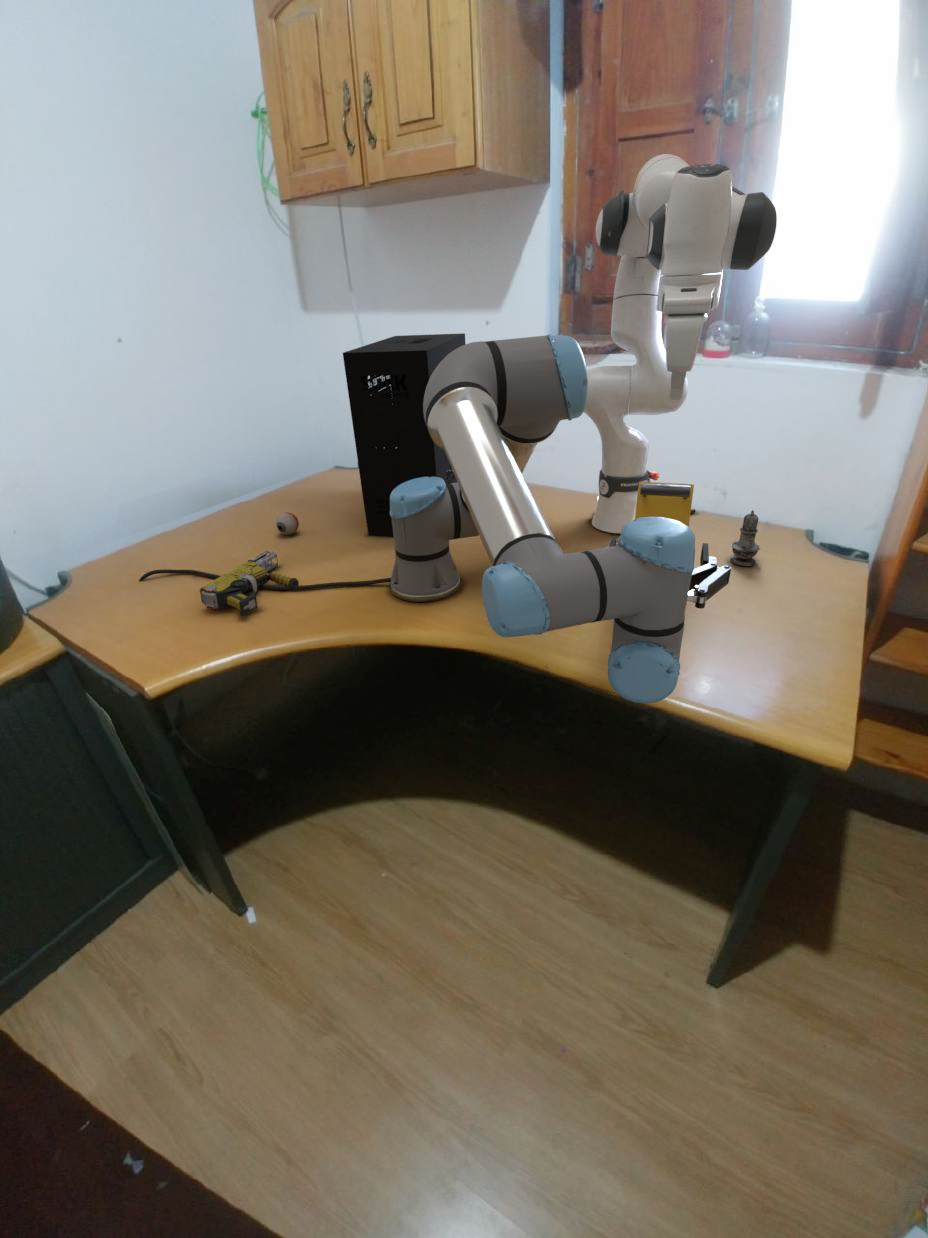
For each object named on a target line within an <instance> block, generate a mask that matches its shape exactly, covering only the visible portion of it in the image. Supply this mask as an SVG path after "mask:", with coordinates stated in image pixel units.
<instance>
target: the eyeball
mask: <svg viewBox="0 0 928 1238" xmlns="http://www.w3.org/2000/svg"><path fill="white" fill-rule="evenodd" d="M299 525H300V522H299V519H298V517H297V516H296V515H295V514H294V513H292V512H287V511H286V512H282V513H280V514H279V515H278V516H277V517H276V520H275V527H276V529H277V530H278V531H279V532H280V533H281V534H282V535H285V536H286V535H287V536H289V535H293V534H295V533H296V532H297V531H298V529H299Z"/></svg>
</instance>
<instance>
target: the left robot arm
mask: <svg viewBox="0 0 928 1238" xmlns="http://www.w3.org/2000/svg"><path fill="white" fill-rule="evenodd" d="M587 370H588V369H587V365H586V360H585V356H584V353H583V351H582V348H581V345H579V343H578V342H577V340H576V339H575V338H573V337H572V336H569V335H566V334H565V335H562V334H561V335H560V334H559V335H554V334H553V335H552V334H547V335H536V336H528V337H516V338H505V339H496V340H487V341H485V340H480V341H472V342H469V343H465V345H463V346H461V347H459V348H457V349H455V350H454V351H452V352H451V353H449V354H448V355H447V356H446V357H445V358H444V359H443V360H442V361H441V362H440V363H439V364H438V366H437V367H436V369H435V370H434V371H433V373H432V375H431V377H430V379H429V381H428V384H427V386H426V391H425V395H424V401H423V413H424V419H425V423H426V426H427V428H428V431H429V434H430V436H431V438H432V440H433V441H434V442H435V443H436V444H437V445H438V446H439V447H441V448H442V449H444V450H445V453H446V455H447V458H448V460H449V463H450V465H451V468H452V470H453V472H454V475H455V477H456V480H457V483H450V484H446V483H445V482H444V480H443V479H442V478H439V477H421V478H416V479H412V480H409V481H406V482H404V483H402V484H400V485H398V486H397V487H396V488H395V489H394V490H393V491H392V492H391V495H390V516H391V518H392V526H393V535H394V536H393V544H394V545H393V546H394V551H395V559H394V562H393V568H392V572H391V577H385V578H379V579H371V580H358V581H336V582H335V581H334V582H325V583H314V584H305V585H299V586H294V588H290V587H288V586H284V585H272V584H271V585H270V584H263V585H259V586H258V587H257V589H262V590H270V591H303V590H304V591H305V590H315V589H323V588H334V587H335V588H336V587H353V586H354V587H355V586H370V585H377V584H385V583H390V589H391V593H392V594H393V595H394V596H395V597H397V598H399V599H401V600H403V601H406V602H413V603H427V602H429V603H430V602H435V601H439V600H442V599H445V598H448V597H451V596H452V595H454V594H455V593H456V592H457V591H458V590H459V588H460V586H461V578H460V574H459V571H460V568H459V570H458V568H457V566H456V563H455V561H454V559H453V556H452V554H451V551H450V550H451V549H450V541H452V540H453V541H454V540H459V539H465V538H466V539H467V538H471V537H479V538H480V540H481V542H482V546H483V549H484V551H485V553H486V555H487V559H488V560H489V563H490V565H491V566H490V567H488V568H487V569H486V570H485V571H484V573H483V574H482V579H481V597H482V603H483V606H484V610H485V615H486V619H487V622H488V624H489V626H490V628H491V629H492V630H493V632H494V633H495V634H496V635H498V636H499V637H501V638H502V637H503V638H515V637H524V636H525V637H526V636H538V635H543V634H545V633H546V632H551V631H557V630H562V629H565V628H566V629H567V628H571V627H576V626H580V625H585V624H591V623H597V622H598V623H599V622H603V621H609V620H613V627H612V638H611V648H610V653H609V654H608V658H607V679H608V682H609V684H610V686H611V688H612V690H613V691H614V692H616V694H617V695H619V696H620V697H621V698H623V699H624V700H627V701H629V702H633V703H637V704H643V705H644V704H645V705H648V704H649V705H650V704H654V703H658V702H661V701H663V700H665V699H666V698H668V697H669V696H670V695H671V694H672V693H673V692H674V691H675V690H676V687H677V684H678V679H679V676H680V670H681V663H680V656H681V649H682V644H683V643H682V642H683V637H684V630H685V619H686V615H685V612H686V608H687V603H688V602H690V603H691V602H692V603H693V604H694V607H695V608H697V609H704V608H705V606H706V603H707V601H709V600H710V599H711V598H712V597H714V596H715V595H716V594H717V593H718V592H720V591H722V589H723V588H725V587H726V586H727V585H728V584H729V583H730V577H731V572H732V566H730V565H727V564H725V565H722V566H719V565H718V561H717V557H716V556H711V555H710V554H709V553H710V551H709V543H707V542H703V543H702V545H701V546H702V547H701V551H700V552H701V553H700V558H699V562H700V564H699V565H700V566H697V567H695V558H696V557H695V556H696V535H695V532H694V531H693V530H692V528H691V527H690V526H689V527H688V526H687V525H685V524H683V523H682V522H680V521H677V520H674V519H670V518H664V517H642V518H637V519H635V520H633V521H632V522H628V523H626V524H625V525H624V526H623V528H622V531H621V534H620V536H619V537H618V541H617V536H611V538H610V542H609V545H608V546H607V547H600V548H594V549H589V550H583V551H577V552H569V553H564V552H563V550H562V548H561V546H560V545H559V544H558V541H557V540H556V538H555V536H554V534H553V532H552V529H551V528H550V526H549V524H548V522H547V520H546V518H545V516H544V514H543V512H542V510H541V508H540V506H539V504H538V502H537V500H536V499H535V496H534V495H533V493H532V490H531V488H530V487H529V485H528V482H527V481H526V479H525V477H524V475H523V473H524V471H525V469H526V467H527V465H528V463H529V461H530V459H531V457H532V455H533V453H534V451H535V449H536V447H537V445H538V444H539V443H541V442H544V441H546V440H547V439H548V438H550V437H551V436H552V434H554V432H555V431H556V429H557V427H558V425H559V423H560V422H562V421H563V420H568V421H572V420H573V419H578V418H580V417H581V416H582V415H583V413H584V410H585V407H586V403H587V395H588V378H587ZM617 542H618V545H617ZM458 562H460V561H459V559H458ZM157 574H160V575H161V574H178V575H179V574H188V575H189V574H190V575H195V576H196V575H197V576H202V577H206V578H212V579H214V580H215V579H217V578H219V577H221V576H222V575H218V574H216V573H210V572H205V571H200V570H195V569H167V568H166V569H154V570H151V571H148V572H146V573H144V574H143V575H142V576H141V577H140V578H139V579H138V582H143V581H145V580H146V579H147V578H148V577H151V576H154V575H157Z"/></svg>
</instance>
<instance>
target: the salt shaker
mask: <svg viewBox="0 0 928 1238" xmlns="http://www.w3.org/2000/svg"><path fill="white" fill-rule="evenodd" d="M758 523H759V516H758V515H757V514H755V511H754V509H752V510H751V511H750V513H747V514H746V515H744V517H743V522H742V527H740V528H739V531H740V535H739V539H738V541H734V542H732V543H731V548H732V549H731V550H732V553H733V555H734V556H731V557H730V559H729V561H730V563H732V564H735V565H738V566H741V567H750V566H753V565H755V564H756V563H757V562H756V559H754V557H756V555H757V554H758V552H759V551H760V550H761V546H760V545H759V544H757V543H756V536H757V533H758V532H759V530H758V529H757V528H758Z"/></svg>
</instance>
